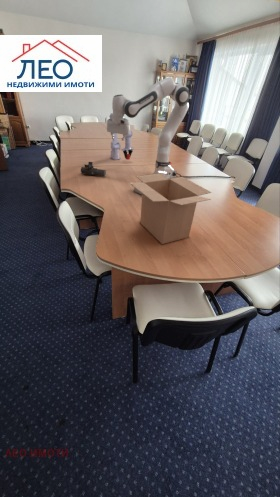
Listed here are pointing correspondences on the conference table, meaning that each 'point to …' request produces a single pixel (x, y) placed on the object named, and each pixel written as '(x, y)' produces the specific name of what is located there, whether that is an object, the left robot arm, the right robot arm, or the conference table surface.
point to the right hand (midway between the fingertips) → (118, 139)
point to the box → (168, 205)
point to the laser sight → (92, 170)
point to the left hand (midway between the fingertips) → (127, 157)
